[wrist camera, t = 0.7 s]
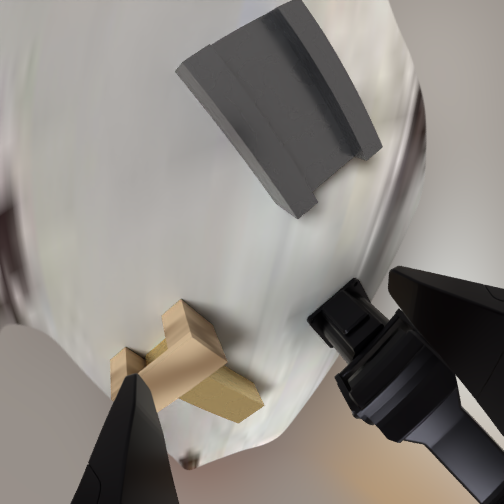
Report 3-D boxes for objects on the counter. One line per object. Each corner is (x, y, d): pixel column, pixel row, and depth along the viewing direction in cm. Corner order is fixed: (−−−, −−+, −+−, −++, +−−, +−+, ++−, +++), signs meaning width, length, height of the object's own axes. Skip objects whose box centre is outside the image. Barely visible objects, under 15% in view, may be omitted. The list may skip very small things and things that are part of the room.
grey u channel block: (353, 140, 22) (382, 147, 20) (275, 203, 23) (297, 219, 20) (275, 11, 16) (299, -3, 13) (175, 71, 16) (182, 62, 13)
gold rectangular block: (252, 380, 31) (264, 405, 28) (228, 398, 31) (238, 423, 28) (172, 330, 25) (178, 359, 22) (145, 353, 25) (149, 383, 22)
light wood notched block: (212, 324, 25) (227, 362, 22) (143, 379, 26) (149, 417, 22) (181, 298, 23) (191, 337, 19) (110, 360, 23) (111, 400, 20)
